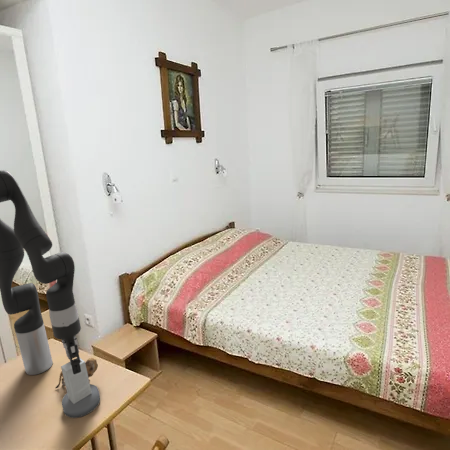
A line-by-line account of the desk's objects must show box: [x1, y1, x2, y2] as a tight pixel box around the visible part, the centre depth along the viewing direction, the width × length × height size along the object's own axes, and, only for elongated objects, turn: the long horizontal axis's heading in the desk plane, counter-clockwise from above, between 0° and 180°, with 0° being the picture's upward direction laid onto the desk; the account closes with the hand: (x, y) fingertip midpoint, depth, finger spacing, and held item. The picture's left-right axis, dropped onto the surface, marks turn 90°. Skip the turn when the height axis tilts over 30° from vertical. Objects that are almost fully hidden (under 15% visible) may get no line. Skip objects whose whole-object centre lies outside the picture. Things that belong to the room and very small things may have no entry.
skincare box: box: [60, 356, 92, 404], centre depth 108 cm, size 6×4×12 cm
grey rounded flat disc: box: [61, 383, 101, 419], centre depth 110 cm, size 11×11×3 cm
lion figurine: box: [55, 357, 99, 389], centre depth 118 cm, size 15×5×9 cm, turn 104°
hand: (74, 365), depth 107 cm, fingers open, 8 cm apart
